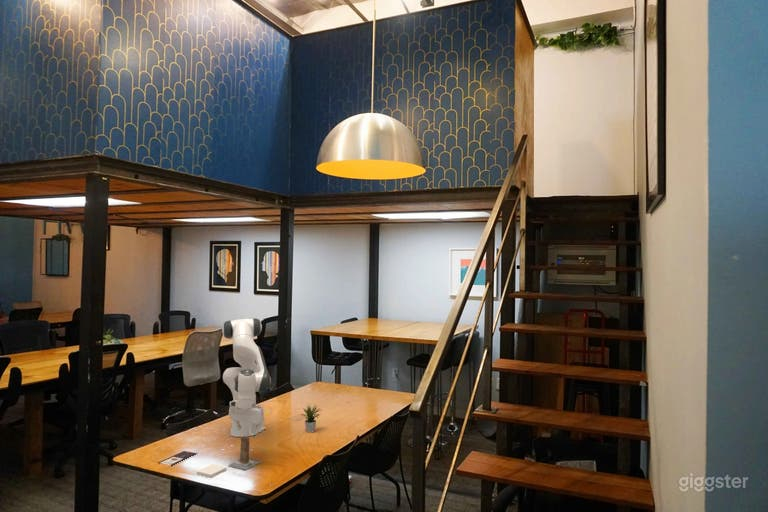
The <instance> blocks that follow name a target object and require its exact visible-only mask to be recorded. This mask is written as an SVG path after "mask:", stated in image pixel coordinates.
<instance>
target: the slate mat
mask: <svg viewBox="0 0 768 512" xmlns="http://www.w3.org/2000/svg"><path fill="white" fill-rule="evenodd" d="M249 460H250V461H255V463H254V464H252V465H250V466H248V467H244V466H239V465H235V464H234V463H235V462H233V463H230V464H229V465H228V468H229V467H230V468H234V469H238V470H242V471H248V470H250V469H252V468H254V467H255V466H257V464H258V465H260V464H261V461H259V460H253V459H251V458H249Z"/></svg>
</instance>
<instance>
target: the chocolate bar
mask: <svg viewBox="0 0 768 512" xmlns="http://www.w3.org/2000/svg"><path fill="white" fill-rule="evenodd" d="M196 454H197V455H198V452H192V451H186V450H183V451H181V452H178V453H176V454H174V455H171V456H170V457H168V458H166V459H163V460H161V461H159V462H157V464H158V463H162V464H166V465H165V466H167V465H171V466H170V467H173V465H174V466H176V465H177V463H178V464H180V463H182V462H184V461H186V460H188V459H190V458H189V457H191V456H193V457H195V456H197V455H196ZM194 455H195V456H194ZM187 458H188V459H187ZM191 458H192V457H191ZM185 459H186V460H185ZM183 460H184V461H183ZM181 461H182V462H181ZM179 462H180V463H179ZM162 464H161V465H162ZM175 464H176V465H175Z"/></svg>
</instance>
